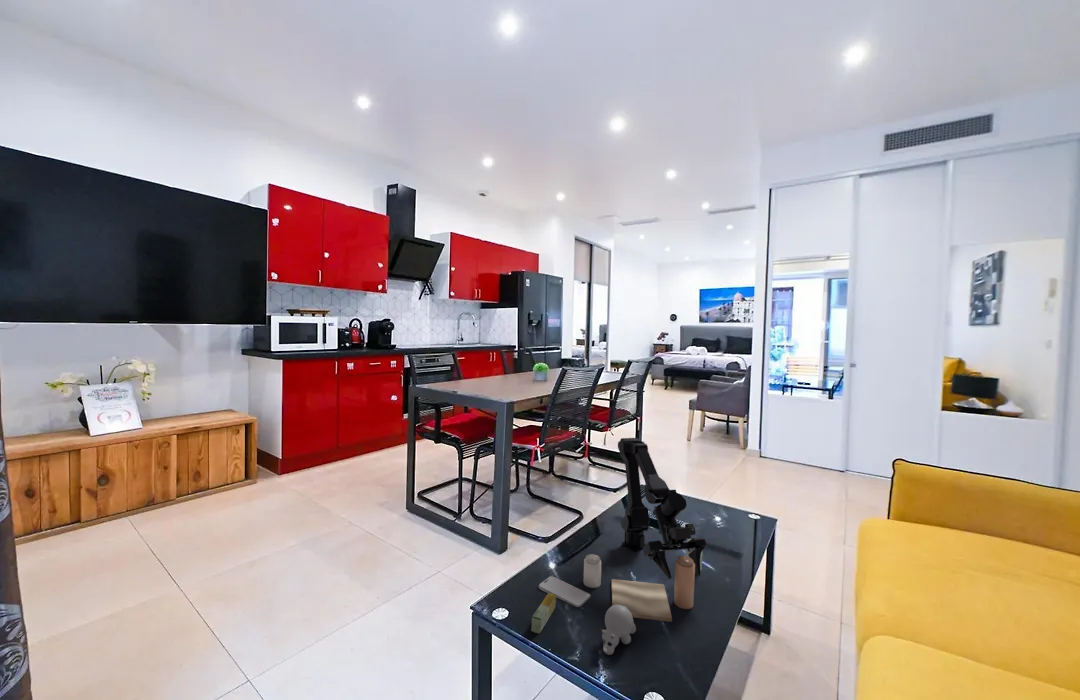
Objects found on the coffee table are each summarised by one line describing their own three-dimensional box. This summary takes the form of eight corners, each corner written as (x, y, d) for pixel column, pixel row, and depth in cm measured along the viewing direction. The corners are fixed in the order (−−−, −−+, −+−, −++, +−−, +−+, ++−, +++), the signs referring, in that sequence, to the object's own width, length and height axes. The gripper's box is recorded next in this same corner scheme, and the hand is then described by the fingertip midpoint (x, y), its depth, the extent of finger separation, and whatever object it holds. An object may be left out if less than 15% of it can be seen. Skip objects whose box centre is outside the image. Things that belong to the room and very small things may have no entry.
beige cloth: (611, 582, 137) (611, 579, 137) (663, 587, 135) (663, 584, 135) (612, 614, 121) (612, 611, 121) (671, 621, 119) (672, 618, 119)
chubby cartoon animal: (594, 656, 110) (587, 632, 107) (616, 616, 118) (611, 593, 115) (619, 670, 105) (613, 646, 102) (641, 628, 113) (635, 604, 111)
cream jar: (579, 582, 137) (580, 557, 137) (591, 575, 141) (592, 551, 140) (592, 590, 133) (593, 564, 133) (604, 583, 137) (605, 558, 136)
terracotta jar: (670, 602, 128) (672, 559, 127) (680, 595, 131) (681, 553, 131) (687, 611, 124) (689, 567, 123) (696, 603, 127) (698, 560, 127)
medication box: (539, 635, 113) (540, 620, 113) (530, 631, 114) (531, 617, 114) (555, 608, 124) (556, 594, 124) (547, 605, 125) (547, 591, 125)
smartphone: (578, 606, 124) (537, 585, 133) (578, 610, 124) (536, 589, 133) (591, 594, 130) (551, 575, 139) (591, 598, 130) (550, 578, 139)
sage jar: (681, 567, 147) (682, 541, 147) (689, 561, 151) (690, 536, 150) (696, 574, 143) (697, 547, 143) (704, 568, 147) (705, 542, 146)
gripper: (648, 515, 130) (665, 572, 119) (705, 511, 133) (726, 566, 123) (636, 529, 138) (651, 583, 127) (690, 525, 141) (708, 577, 131)
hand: (684, 577), depth 127 cm, fingers open, 9 cm apart
